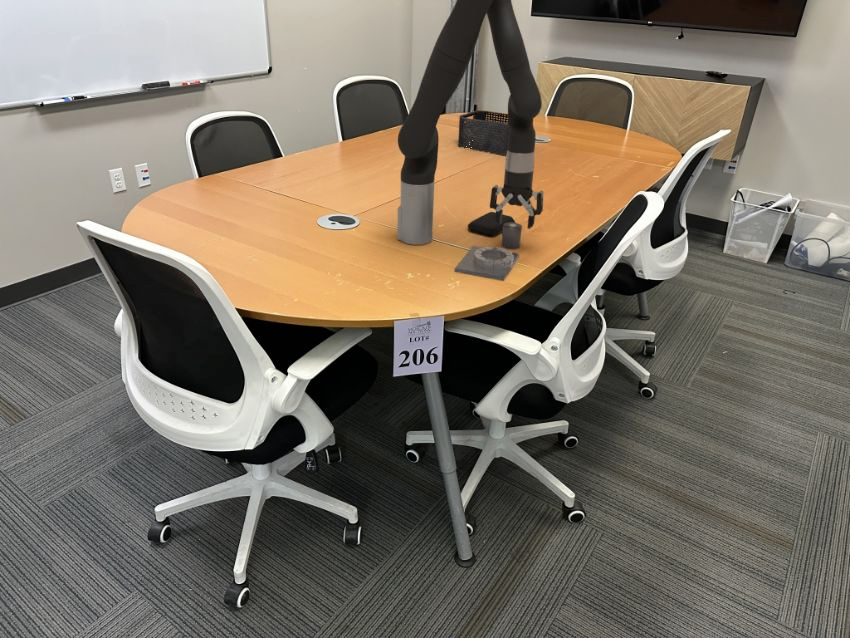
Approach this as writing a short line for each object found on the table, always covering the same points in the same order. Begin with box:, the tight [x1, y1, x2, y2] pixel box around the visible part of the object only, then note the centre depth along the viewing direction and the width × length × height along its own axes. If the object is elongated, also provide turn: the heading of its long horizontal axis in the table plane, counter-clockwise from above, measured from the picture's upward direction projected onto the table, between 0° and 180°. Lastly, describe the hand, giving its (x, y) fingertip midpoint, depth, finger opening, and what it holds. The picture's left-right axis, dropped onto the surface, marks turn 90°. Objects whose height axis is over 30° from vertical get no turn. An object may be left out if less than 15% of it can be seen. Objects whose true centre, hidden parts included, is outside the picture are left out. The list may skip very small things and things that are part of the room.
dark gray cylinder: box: [500, 222, 523, 250], centre depth 171 cm, size 5×5×6 cm
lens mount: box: [454, 245, 520, 282], centre depth 161 cm, size 13×16×3 cm
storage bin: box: [457, 110, 509, 156], centre depth 266 cm, size 29×19×13 cm
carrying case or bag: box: [467, 211, 516, 237], centre depth 184 cm, size 11×3×15 cm
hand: (514, 225), depth 169 cm, fingers open, 8 cm apart
